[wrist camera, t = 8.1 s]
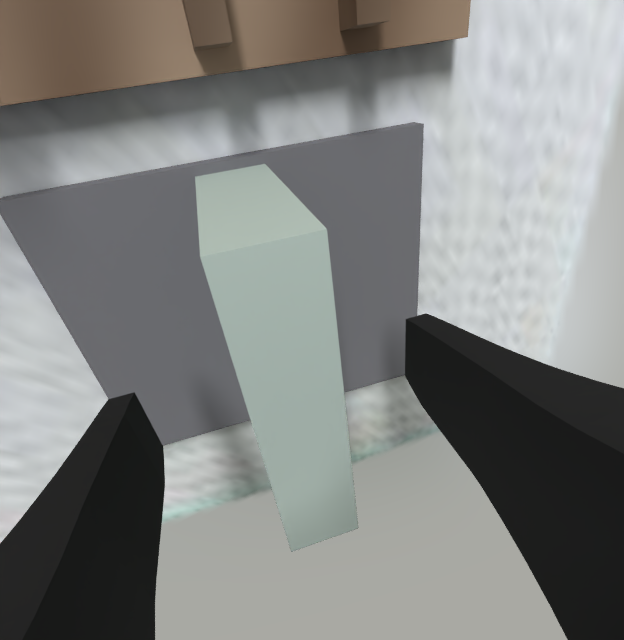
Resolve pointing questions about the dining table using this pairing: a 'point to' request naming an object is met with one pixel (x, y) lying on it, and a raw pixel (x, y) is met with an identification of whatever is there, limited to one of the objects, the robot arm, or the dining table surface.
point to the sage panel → (282, 342)
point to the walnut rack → (196, 38)
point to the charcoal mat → (190, 279)
